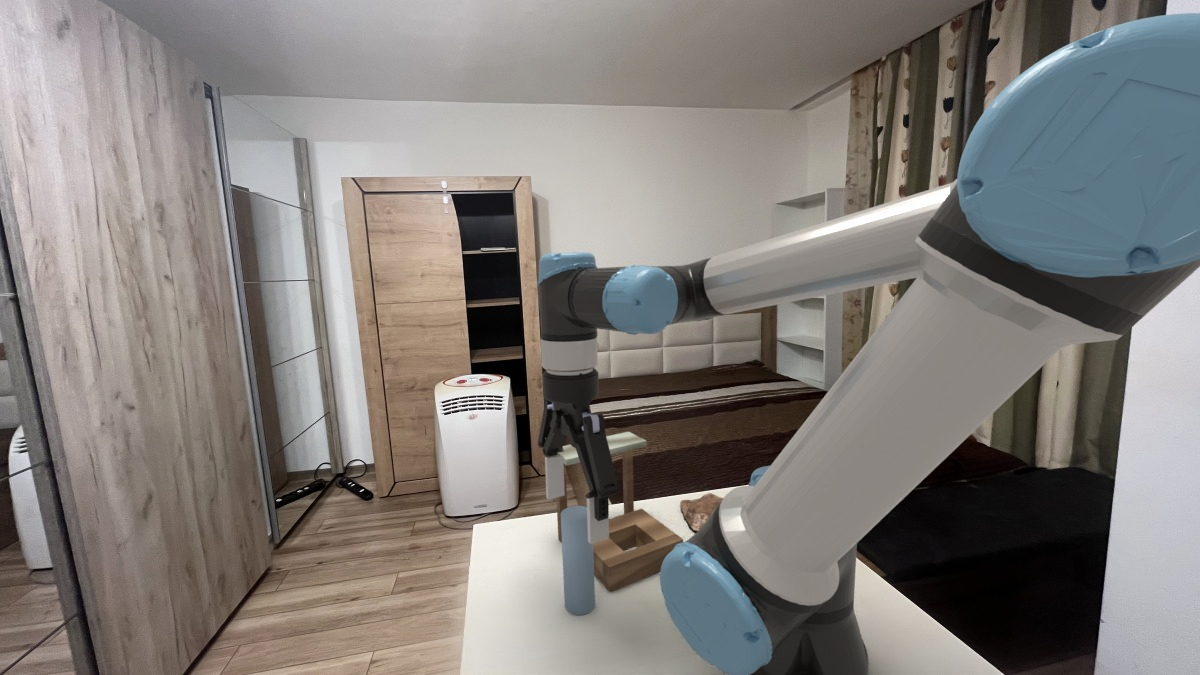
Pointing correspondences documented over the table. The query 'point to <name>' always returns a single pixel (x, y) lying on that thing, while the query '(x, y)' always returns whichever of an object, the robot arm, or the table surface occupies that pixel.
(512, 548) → the table surface
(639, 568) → the socket station
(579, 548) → the peg
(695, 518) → the shell
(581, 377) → the robot arm
